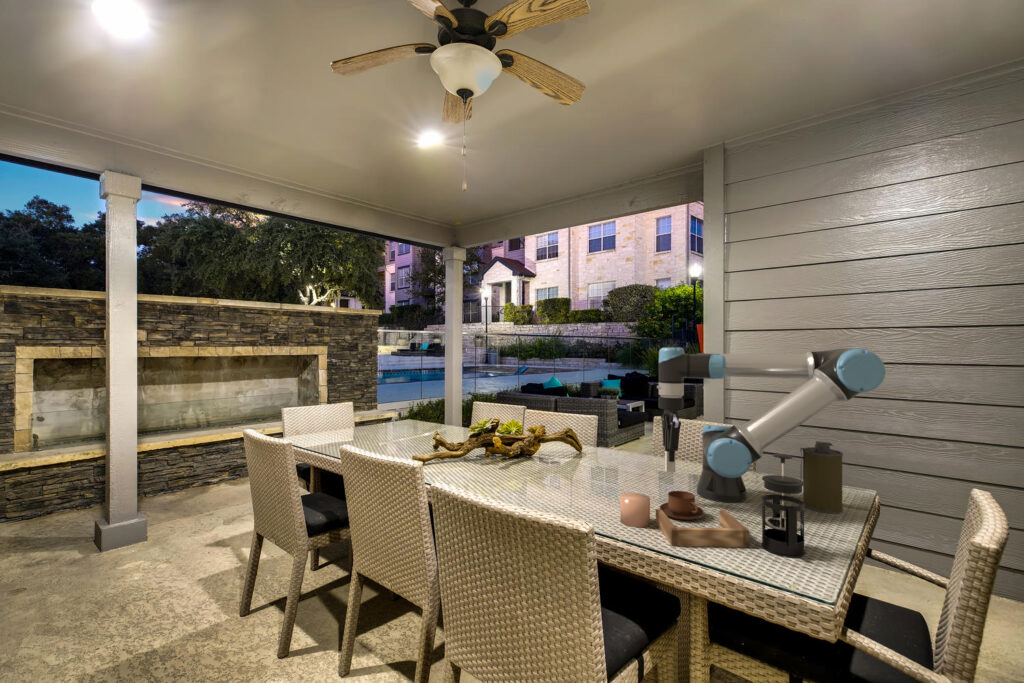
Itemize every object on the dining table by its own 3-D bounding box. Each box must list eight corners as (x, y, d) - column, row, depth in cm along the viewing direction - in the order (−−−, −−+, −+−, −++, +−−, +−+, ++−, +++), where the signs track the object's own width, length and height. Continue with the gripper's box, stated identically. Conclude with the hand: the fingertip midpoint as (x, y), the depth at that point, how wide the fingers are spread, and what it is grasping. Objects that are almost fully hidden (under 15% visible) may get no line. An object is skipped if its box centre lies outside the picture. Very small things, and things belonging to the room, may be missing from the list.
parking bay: (724, 524, 131) (724, 510, 132) (749, 546, 117) (749, 530, 117) (655, 523, 132) (655, 509, 132) (671, 545, 118) (671, 529, 118)
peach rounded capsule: (645, 517, 137) (645, 493, 137) (653, 528, 129) (653, 502, 129) (617, 516, 137) (618, 492, 137) (623, 527, 129) (623, 501, 129)
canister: (839, 504, 148) (839, 440, 148) (846, 515, 139) (846, 447, 139) (798, 500, 153) (798, 437, 153) (803, 510, 143) (803, 443, 143)
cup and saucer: (710, 515, 139) (710, 494, 139) (691, 526, 130) (691, 504, 130) (671, 505, 147) (671, 486, 147) (652, 515, 139) (652, 494, 139)
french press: (755, 538, 122) (755, 449, 122) (795, 541, 120) (795, 450, 120) (771, 559, 110) (770, 460, 111) (815, 562, 109) (815, 462, 109)
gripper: (653, 393, 156) (652, 465, 156) (664, 398, 143) (664, 476, 143) (676, 394, 156) (675, 466, 156) (689, 398, 143) (689, 477, 143)
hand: (670, 471), depth 149 cm, fingers closed
